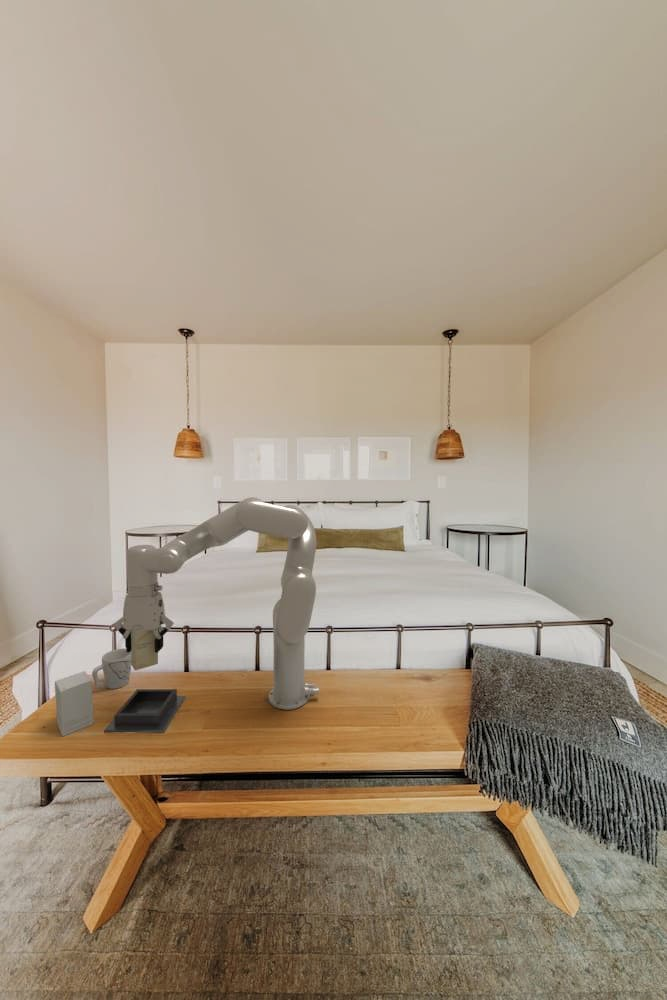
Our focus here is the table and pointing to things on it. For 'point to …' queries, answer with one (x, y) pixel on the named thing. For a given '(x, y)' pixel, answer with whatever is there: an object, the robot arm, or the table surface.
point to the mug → (114, 669)
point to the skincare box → (143, 648)
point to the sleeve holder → (147, 711)
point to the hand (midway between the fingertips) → (144, 649)
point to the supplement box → (74, 703)
